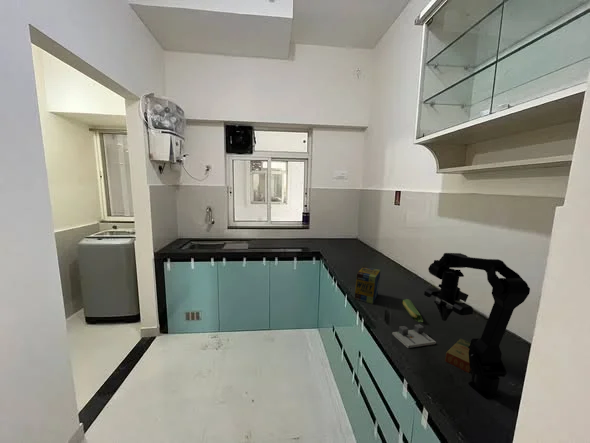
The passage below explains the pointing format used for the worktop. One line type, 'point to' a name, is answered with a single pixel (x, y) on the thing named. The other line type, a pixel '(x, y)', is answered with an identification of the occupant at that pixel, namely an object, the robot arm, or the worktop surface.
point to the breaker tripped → (403, 330)
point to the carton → (459, 355)
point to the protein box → (367, 284)
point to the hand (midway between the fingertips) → (444, 320)
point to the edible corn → (412, 310)
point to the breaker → (418, 328)
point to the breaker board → (414, 339)
